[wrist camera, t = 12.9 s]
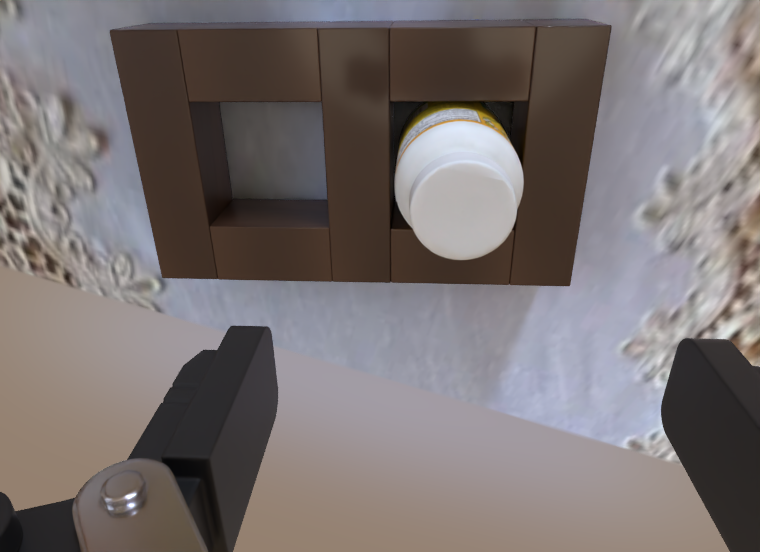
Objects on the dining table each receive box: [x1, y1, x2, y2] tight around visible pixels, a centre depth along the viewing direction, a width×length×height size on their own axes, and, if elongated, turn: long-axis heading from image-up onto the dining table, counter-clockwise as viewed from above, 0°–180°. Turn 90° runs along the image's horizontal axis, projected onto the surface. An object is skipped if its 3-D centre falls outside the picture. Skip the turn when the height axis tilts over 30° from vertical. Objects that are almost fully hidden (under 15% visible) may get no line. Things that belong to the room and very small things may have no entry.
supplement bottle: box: [395, 102, 524, 260], centre depth 25 cm, size 5×5×10 cm
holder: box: [110, 19, 611, 286], centre depth 28 cm, size 21×12×4 cm, turn 91°
